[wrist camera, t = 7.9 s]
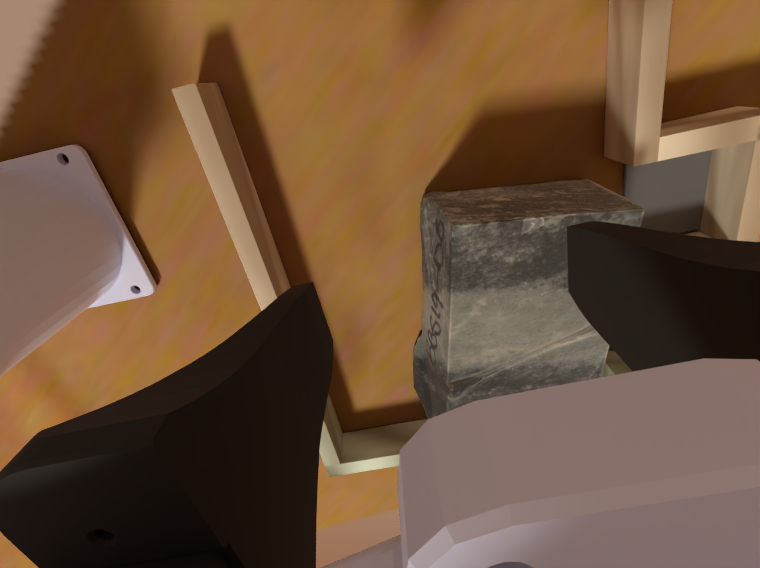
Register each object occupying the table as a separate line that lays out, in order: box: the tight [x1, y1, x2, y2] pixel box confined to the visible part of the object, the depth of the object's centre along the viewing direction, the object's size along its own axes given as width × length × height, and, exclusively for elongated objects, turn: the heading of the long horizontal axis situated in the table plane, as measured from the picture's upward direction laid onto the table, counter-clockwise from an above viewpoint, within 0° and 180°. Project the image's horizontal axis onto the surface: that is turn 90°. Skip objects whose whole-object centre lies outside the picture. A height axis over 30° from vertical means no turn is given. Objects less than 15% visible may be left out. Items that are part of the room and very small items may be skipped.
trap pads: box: [623, 150, 712, 233], centre depth 22 cm, size 4×12×1 cm, turn 12°
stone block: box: [413, 178, 645, 419], centre depth 21 cm, size 9×14×5 cm, turn 3°
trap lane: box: [171, 0, 760, 477], centre depth 21 cm, size 24×23×2 cm
